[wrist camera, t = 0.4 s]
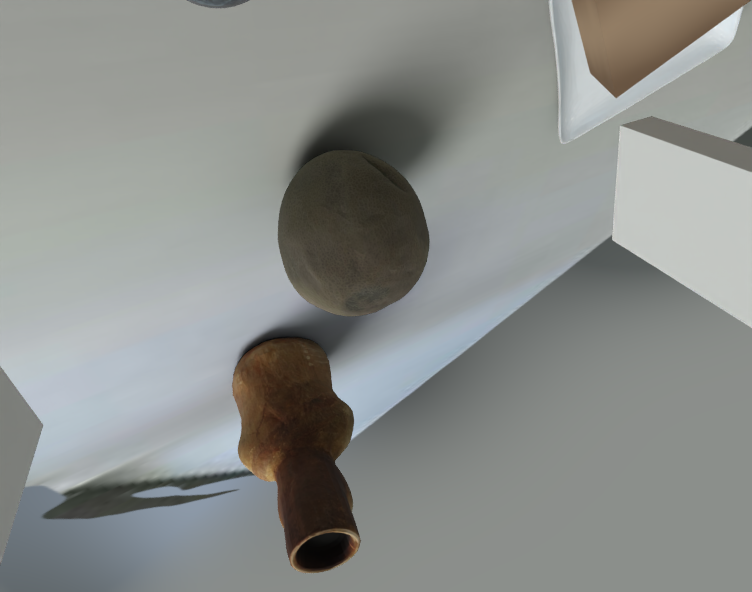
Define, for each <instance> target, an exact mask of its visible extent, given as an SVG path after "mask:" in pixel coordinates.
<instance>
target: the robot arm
mask: <svg viewBox="0 0 752 592" xmlns="http://www.w3.org/2000/svg"><path fill="white" fill-rule="evenodd" d="M612 240H613V241H615V242H616V243H618V244H620V245H621V246H623V247H625V248H626V249H628V250H630V251H631V252H632V253H634V254H636V255H637V256H639V257H640V258H642V259H644V260H645V261H647V262H648V263H650V264H651V265H653V266H655V267H656V268H658V269H659V270H661V271H663V272H664V273H666V274H667V275H669V276H670V277H672V278H674V279H675V280H677V281H678V282H680V283H681V284H683V285H685V286H686V287H688V288H690V289H691V290H693V291H694V292H696V293H697V294H699V295H701V296H702V297H704V298H705V299H707V300H708V301H710V302H712V303H713V304H715V305H716V306H718V307H719V308H721V309H723V310H724V311H726V312H727V313H729V314H731V315H732V316H734V317H735V318H737V319H739V320H740V321H742V322H743V323H745V324H746V325H748V326H750V327H751V328H752V148H751V147H748V146H745V145H741V144H738V143H735V142H732V141H729V140H726V139H722V138H719V137H716V136H713V135H710V134H706V133H703V132H700V131H697V130H694V129H691V128H687V127H684V126H681V125H678V124H675V123H671V122H668V121H665V120H662V119H659V118H655V117H652V116H651V117H647V118H644V119H641V120H637V121H634V122H630V123H627V124H623V125H620V134H619V149H618V163H617V178H616V192H615V207H614V221H613V236H612ZM42 428H43V424H42V423H41V421H40V420H39V419H38V417H37V416H36V414H35V413H34V412H33V410H32V409H31V408H30V406H29V405H28V404H27V402H26V401H25V399H24V398H23V397H22V395H21V394H20V393H19V391H18V390H17V388H16V387H15V386H14V384H13V383H12V382H11V380H10V379H9V378H8V376H7V375H6V373H5V372H4V371H3V369H2V368H1V367H0V564H1V561H2V557H3V554H4V551H5V548H6V545H7V541H8V538H9V535H10V532H11V528H12V525H13V522H14V518H15V515H16V512H17V509H18V506H19V502H20V499H21V496H22V493H23V489H24V486H25V483H26V480H27V476H28V473H29V470H30V467H31V463H32V460H33V457H34V454H35V450H36V447H37V444H38V441H39V437H40V434H41V431H42Z"/></svg>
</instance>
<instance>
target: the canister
mask: <svg viewBox="0 0 752 592" xmlns="http://www.w3.org/2000/svg"><path fill="white" fill-rule="evenodd" d="M187 1H189V2H191V3H194V4H197V5H200V6H204V7H209V8H227V7H233V6H236V5H240V4H242V3H245V2H247V1H249V0H187Z"/></svg>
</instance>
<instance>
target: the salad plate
mask: <svg viewBox="0 0 752 592" xmlns="http://www.w3.org/2000/svg"><path fill="white" fill-rule="evenodd" d="M548 2H549V12H550V21H551V28H552V35H553V43H554V50H555V59H556V70H557V84H558V135H559V140H560V142H561V143H562V144H565V143H568V142H570V141H572V140H574V139H576V138H577V137H579V136H581V135H583V134H585V133H586V132H588V131H590V130H591V129H593V128H595V127H596V126H598V125H600V124H602V123H603V122H605V121H607V120H608V119H610V118H612V117H614V116H615V115H617V114H619V113H620V112H622V111H624V110H625V109H627V108H629V107H630V106H632V105H633V104H635V103H637V102H638V101H640V100H642V99H644V98H645V97H647V96H648V95H650V94H652V93H653V92H655V91H657V90H658V89H660V88H661V87H663V86H665V85H666V84H668V83H670V82H671V81H673V80H675V79H676V78H678V77H680V76H681V75H683V74H685V73H686V72H688V71H690V70H691V69H693V68H694V67H696V66H698V65H699V64H701V63H703V62H704V61H706V60H708V59H709V58H711V57H712V56H714V55H716V54H717V53H719V52H720V51H722V50H723V49H725V48H726V47H727V46H729V44H730V43H731V42H732V41H733V39H734V37H735V34H736V31H737V28H738V25H739V21H740V18H741V14H742V10H743V7H744V6H743V7H741V8H740V9H739V10H737V11H736V12H734V13H733V14H732V15H730V16H729V17H728V18H726V19H725V20H723V21H722V22H721V23H719V24H718V25H717V26H715V27H714V28H712V29H711V30H710V31H708V32H707V33H705V34H704V35H703V36H701V37H700V38H699V39H697V40H696V41H694V42H693V43H692V44H690V45H689V46H688V47H686V48H685V49H683V50H682V51H681V52H679V53H678V54H677V55H675V56H674V57H672V58H671V59H670V60H668V61H667V62H666V63H664V64H663V65H661V66H660V67H659V68H657V69H656V70H655V71H653V72H652V73H650V74H649V75H648V76H646V77H645V78H644V79H642V80H641V81H639V82H638V83H637V84H635V85H634V86H633V87H631V88H630V89H628V90H627V91H626V92H624V93H623V94H622V95H620V96H619V97H617V98H615V97H614V96H613V95H612V94H611V93H610V92H609V91H608V90H607V89H606V88H605V87H604V86H603V85H602V84H601V83H600V82H599V81H598V80H597V79H596V78H595V77H593V76H592V75H591V74H590V71H589V67H588V63H587V59H586V55H585V51H584V47H583V43H582V40H581V36H580V32H579V28H578V24H577V20H576V16H575V12H574V8H573V4H572V0H548Z"/></svg>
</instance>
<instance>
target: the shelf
mask: <svg viewBox="0 0 752 592" xmlns="http://www.w3.org/2000/svg"><path fill="white" fill-rule="evenodd" d="M750 1H751V0H572V4H573V8H574V12H575V16H576V20H577V24H578V28H579V32H580V36H581V40H582V43H583V47H584V51H585V55H586V59H587V63H588V67H589V71H590V74H591V75H592V76H593V77H595V78H596V79H597V80H598V81H599V82H600V83H601V84H602V85H603V86H604V87H605V88H606V89H607V90H608V91H609V92H610V93H611V94H612V95H613V96H614V97H615V98H617V97H619V96H620V95H622V94H623V93H624V92H626V91H627V90H628V89H630V88H631V87H633V86H634V85H635V84H637V83H638V82H639V81H641V80H642V79H644V78H645V77H646V76H648V75H649V74H650V73H652V72H653V71H655V70H656V69H657V68H659V67H660V66H661V65H663V64H664V63H666V62H667V61H668V60H670V59H671V58H672V57H674V56H675V55H677V54H678V53H679V52H681V51H682V50H683V49H685V48H686V47H688V46H689V45H690V44H692V43H693V42H694V41H696V40H697V39H699V38H700V37H701V36H703V35H704V34H705V33H707V32H708V31H710V30H711V29H712V28H714V27H715V26H717V25H718V24H719V23H721V22H722V21H723V20H725V19H726V18H728V17H729V16H730V15H732V14H733V13H734V12H736V11H737V10H739V9H740V8H741V7H743V6H744V5H745V4H747V3H748V2H750Z"/></svg>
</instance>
